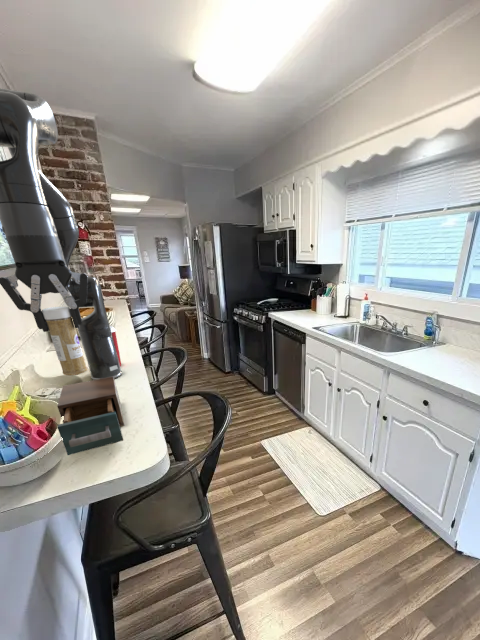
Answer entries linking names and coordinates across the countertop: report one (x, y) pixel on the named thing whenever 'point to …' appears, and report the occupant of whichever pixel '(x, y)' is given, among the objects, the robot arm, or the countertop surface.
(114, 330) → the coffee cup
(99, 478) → the countertop surface
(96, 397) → the cabinet
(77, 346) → the sprinkles bottle
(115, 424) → the drawer
